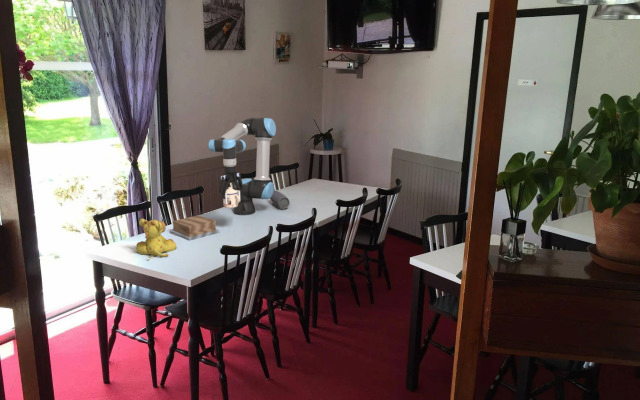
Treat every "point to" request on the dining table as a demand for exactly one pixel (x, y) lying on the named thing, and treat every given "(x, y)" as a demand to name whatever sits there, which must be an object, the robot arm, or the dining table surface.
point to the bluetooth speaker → (280, 200)
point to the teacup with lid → (232, 198)
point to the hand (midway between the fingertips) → (232, 202)
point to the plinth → (194, 227)
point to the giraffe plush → (154, 239)
